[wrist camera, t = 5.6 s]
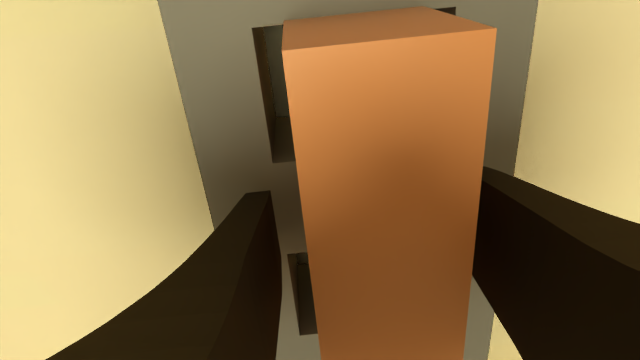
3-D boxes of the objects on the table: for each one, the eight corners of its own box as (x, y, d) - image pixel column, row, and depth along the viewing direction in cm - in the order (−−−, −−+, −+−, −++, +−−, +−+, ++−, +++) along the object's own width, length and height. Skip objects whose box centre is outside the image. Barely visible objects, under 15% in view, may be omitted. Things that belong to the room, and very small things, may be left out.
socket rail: (448, 327, 18) (481, 401, 15) (267, 349, 18) (263, 427, 15) (489, -211, 10) (579, -289, 7) (156, -179, 10) (96, -246, 7)
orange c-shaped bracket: (394, 256, 16) (456, 424, 10) (315, 265, 16) (331, 440, 10) (392, -4, 12) (496, 28, 6) (284, 7, 11) (281, 50, 6)
